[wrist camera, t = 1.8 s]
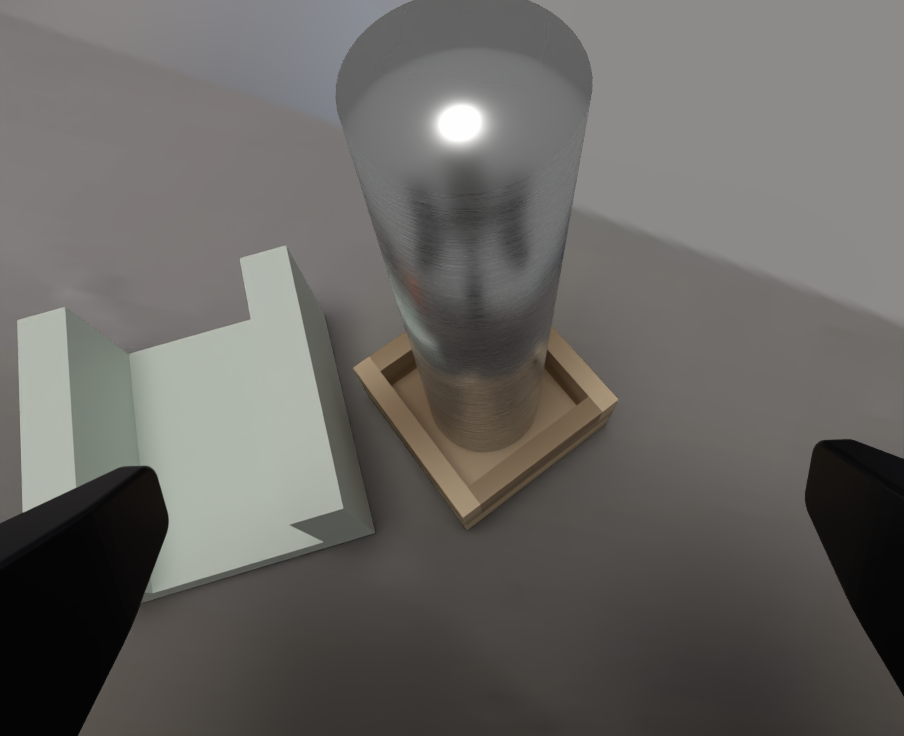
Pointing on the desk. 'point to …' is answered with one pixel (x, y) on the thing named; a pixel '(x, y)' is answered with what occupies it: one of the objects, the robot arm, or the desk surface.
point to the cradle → (203, 428)
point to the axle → (470, 193)
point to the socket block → (498, 472)
